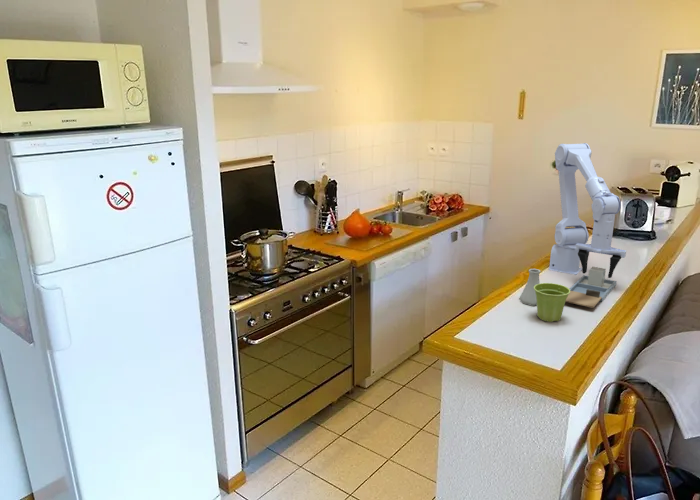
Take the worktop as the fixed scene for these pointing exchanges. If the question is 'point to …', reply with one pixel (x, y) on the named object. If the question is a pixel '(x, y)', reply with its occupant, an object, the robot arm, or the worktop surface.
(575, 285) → the tray
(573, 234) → the robot arm
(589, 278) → the block
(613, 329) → the worktop surface
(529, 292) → the flask
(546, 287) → the plant pot
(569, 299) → the door
